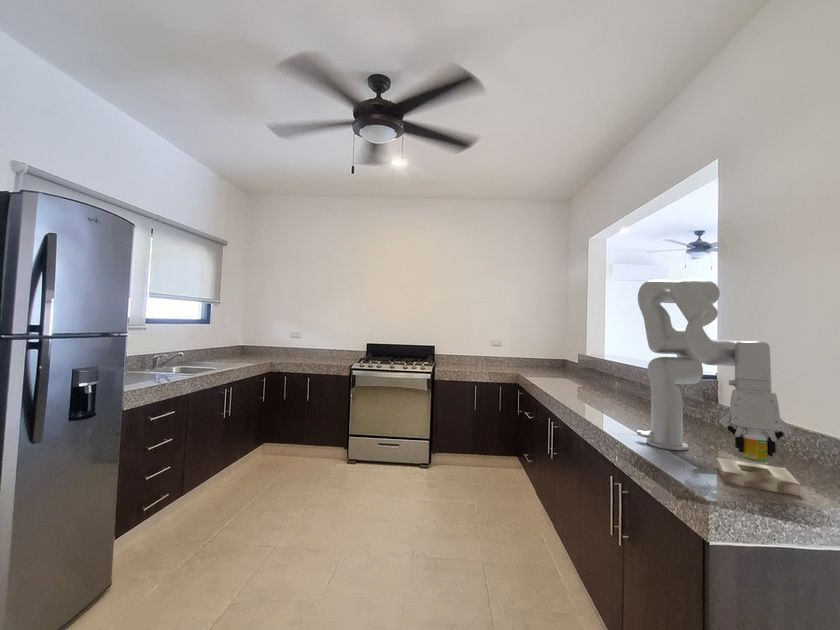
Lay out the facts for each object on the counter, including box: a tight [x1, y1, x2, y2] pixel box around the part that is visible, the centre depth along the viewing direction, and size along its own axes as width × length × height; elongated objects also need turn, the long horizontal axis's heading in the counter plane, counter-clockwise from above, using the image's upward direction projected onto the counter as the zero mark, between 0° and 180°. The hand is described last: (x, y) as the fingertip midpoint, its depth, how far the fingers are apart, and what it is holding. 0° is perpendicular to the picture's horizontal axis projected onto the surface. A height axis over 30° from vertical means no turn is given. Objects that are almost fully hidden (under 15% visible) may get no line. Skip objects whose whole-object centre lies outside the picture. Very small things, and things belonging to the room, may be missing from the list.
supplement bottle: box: [741, 428, 769, 465], centre depth 105 cm, size 5×5×10 cm
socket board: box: [716, 457, 801, 497], centre depth 105 cm, size 15×14×3 cm
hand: (754, 452), depth 105 cm, fingers closed on supplement bottle, 5 cm apart
